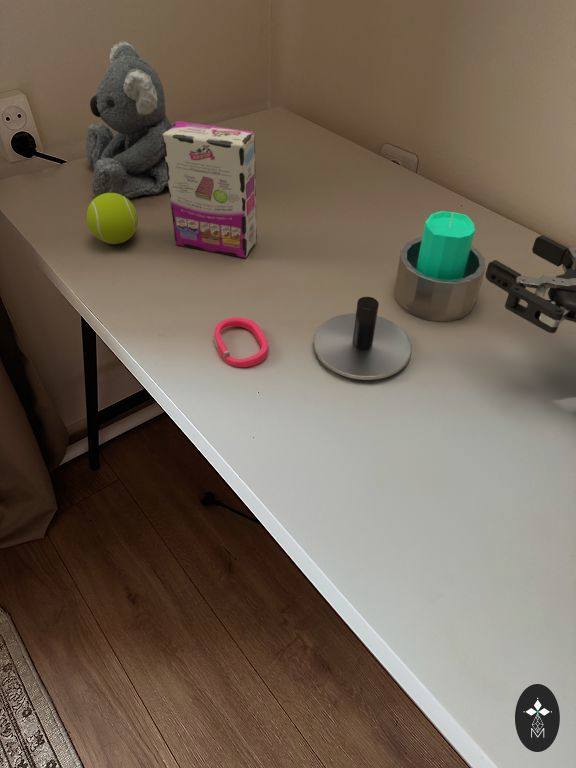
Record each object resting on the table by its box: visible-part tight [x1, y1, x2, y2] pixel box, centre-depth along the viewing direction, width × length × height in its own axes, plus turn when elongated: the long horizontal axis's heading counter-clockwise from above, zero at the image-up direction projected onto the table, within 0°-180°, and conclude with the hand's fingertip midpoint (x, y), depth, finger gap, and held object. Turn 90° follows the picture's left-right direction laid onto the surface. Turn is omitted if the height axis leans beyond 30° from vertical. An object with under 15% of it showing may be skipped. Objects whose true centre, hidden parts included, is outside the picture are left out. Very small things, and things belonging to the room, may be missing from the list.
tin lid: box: [313, 296, 412, 381], centre depth 74 cm, size 12×12×7 cm
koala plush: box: [85, 39, 174, 200], centre depth 100 cm, size 17×18×20 cm
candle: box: [416, 210, 476, 280], centre depth 80 cm, size 6×6×12 cm
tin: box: [393, 236, 487, 322], centre depth 82 cm, size 11×11×6 cm
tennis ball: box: [86, 193, 139, 245], centre depth 90 cm, size 7×7×7 cm
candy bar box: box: [163, 120, 258, 258], centre depth 87 cm, size 11×5×16 cm, turn 73°
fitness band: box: [212, 316, 269, 368], centre depth 76 cm, size 8×6×2 cm
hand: (513, 255), depth 72 cm, fingers open, 8 cm apart
